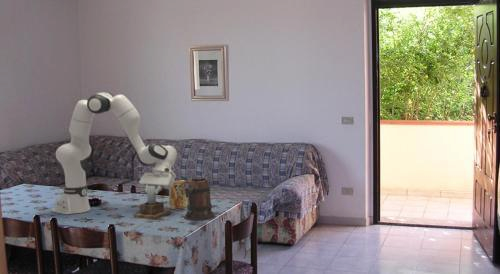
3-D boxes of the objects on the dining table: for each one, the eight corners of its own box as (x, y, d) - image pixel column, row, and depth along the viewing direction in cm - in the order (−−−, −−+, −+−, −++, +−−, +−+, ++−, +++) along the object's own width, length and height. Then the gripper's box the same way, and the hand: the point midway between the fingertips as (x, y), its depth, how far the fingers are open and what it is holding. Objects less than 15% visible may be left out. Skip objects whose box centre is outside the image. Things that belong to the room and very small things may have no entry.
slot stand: (133, 217, 295) (133, 205, 295) (149, 211, 308) (149, 199, 307) (155, 219, 289) (154, 207, 288) (170, 213, 301) (170, 201, 301)
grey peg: (146, 207, 297) (145, 186, 296) (151, 205, 301) (150, 185, 300) (152, 207, 295) (151, 187, 294) (157, 206, 299) (156, 185, 298)
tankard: (190, 212, 303) (189, 176, 301) (220, 213, 298) (218, 177, 296) (173, 223, 280) (171, 184, 278) (204, 225, 276) (203, 185, 274)
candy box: (183, 206, 319) (182, 179, 317) (186, 207, 315) (185, 180, 314) (169, 208, 314) (168, 181, 313) (172, 209, 311) (171, 182, 309)
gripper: (143, 168, 307) (132, 188, 299) (173, 169, 298) (163, 191, 290) (148, 174, 311) (138, 195, 304) (178, 176, 302) (169, 197, 294)
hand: (151, 193), depth 297 cm, fingers closed on grey peg, 4 cm apart
